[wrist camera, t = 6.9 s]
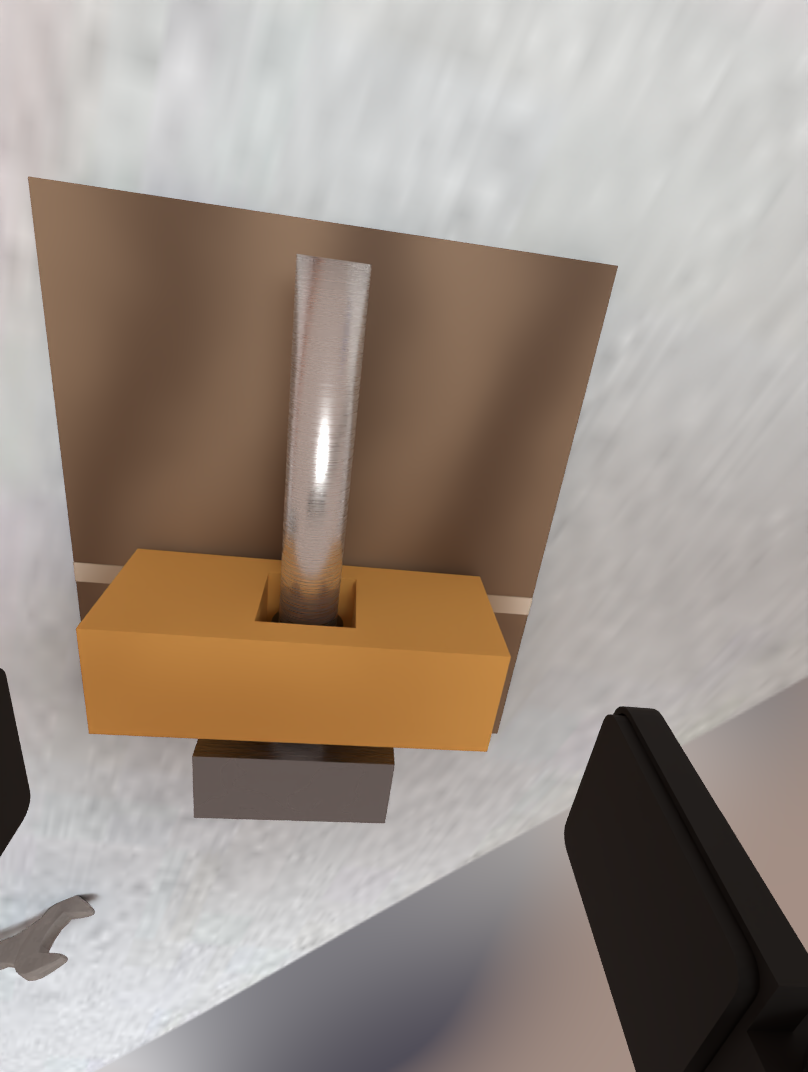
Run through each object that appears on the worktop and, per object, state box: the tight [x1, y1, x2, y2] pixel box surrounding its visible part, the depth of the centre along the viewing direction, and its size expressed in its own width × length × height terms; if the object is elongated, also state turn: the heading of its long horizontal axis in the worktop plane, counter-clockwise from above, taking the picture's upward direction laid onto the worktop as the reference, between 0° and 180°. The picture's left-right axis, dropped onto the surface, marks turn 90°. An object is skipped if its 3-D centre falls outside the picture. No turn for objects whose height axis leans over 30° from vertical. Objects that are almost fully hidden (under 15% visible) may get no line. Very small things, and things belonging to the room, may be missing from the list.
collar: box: [76, 549, 511, 752], centre depth 21 cm, size 13×4×5 cm, turn 83°
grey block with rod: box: [192, 254, 395, 823], centre depth 20 cm, size 7×19×5 cm, turn 173°
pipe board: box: [28, 177, 618, 734], centre depth 22 cm, size 18×20×1 cm
